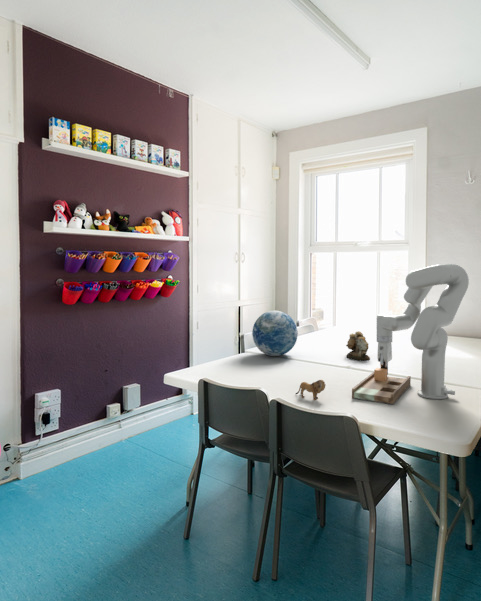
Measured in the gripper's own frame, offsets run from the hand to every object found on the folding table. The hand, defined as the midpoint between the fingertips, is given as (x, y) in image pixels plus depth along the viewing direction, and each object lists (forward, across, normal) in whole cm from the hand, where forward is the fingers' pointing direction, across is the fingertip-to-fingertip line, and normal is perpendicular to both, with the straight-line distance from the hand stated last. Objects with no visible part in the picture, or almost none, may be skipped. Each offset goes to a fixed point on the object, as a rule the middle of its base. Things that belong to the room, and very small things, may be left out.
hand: (384, 374), depth 220 cm
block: (+1, -6, 0) cm, 6 cm away
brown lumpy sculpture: (+4, +49, +30) cm, 57 cm away
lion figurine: (+4, -41, +22) cm, 46 cm away
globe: (+4, +30, +79) cm, 84 cm away
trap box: (+4, -16, -4) cm, 17 cm away
